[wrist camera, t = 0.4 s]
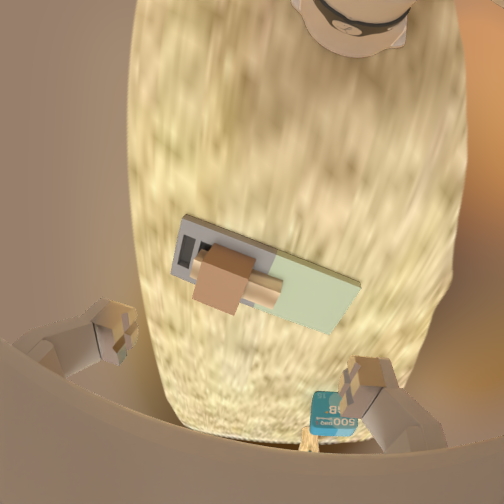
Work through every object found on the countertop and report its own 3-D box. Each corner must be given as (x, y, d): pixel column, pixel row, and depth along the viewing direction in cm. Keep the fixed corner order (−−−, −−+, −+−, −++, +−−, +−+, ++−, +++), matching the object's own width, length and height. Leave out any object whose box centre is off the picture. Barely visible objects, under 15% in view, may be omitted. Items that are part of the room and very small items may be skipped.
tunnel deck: (186, 214, 52) (165, 233, 45) (360, 282, 52) (365, 311, 44) (174, 269, 59) (155, 292, 51) (329, 328, 58) (329, 358, 51)
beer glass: (325, 429, 79) (322, 468, 66) (311, 435, 82) (306, 472, 69) (310, 423, 78) (306, 463, 65) (296, 429, 81) (290, 467, 68)
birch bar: (201, 248, 53) (193, 259, 49) (282, 280, 52) (280, 293, 49) (197, 265, 55) (189, 276, 51) (275, 296, 54) (272, 309, 51)
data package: (356, 392, 67) (358, 429, 57) (353, 401, 69) (353, 436, 59) (314, 390, 69) (311, 427, 59) (311, 399, 71) (308, 435, 61)
